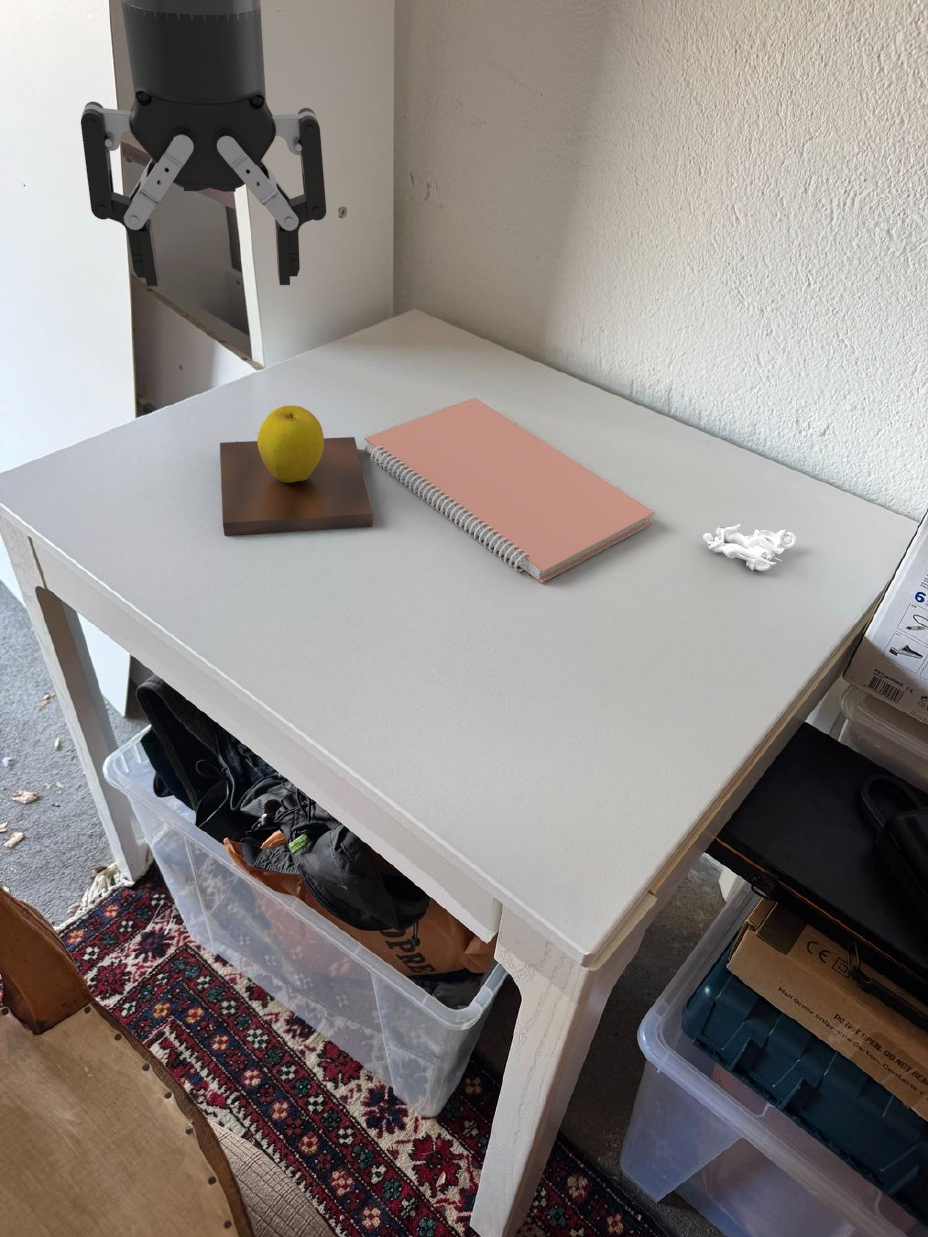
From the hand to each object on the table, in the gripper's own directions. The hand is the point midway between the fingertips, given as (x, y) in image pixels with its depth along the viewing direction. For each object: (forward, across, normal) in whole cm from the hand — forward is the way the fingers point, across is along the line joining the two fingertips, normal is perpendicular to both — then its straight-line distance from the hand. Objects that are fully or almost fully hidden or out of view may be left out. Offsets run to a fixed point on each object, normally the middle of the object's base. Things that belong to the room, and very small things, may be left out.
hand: (219, 281), depth 62 cm
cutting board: (+28, -5, -16) cm, 33 cm away
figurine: (+28, -48, -1) cm, 56 cm away
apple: (+27, -5, -16) cm, 32 cm away
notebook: (+28, -26, -14) cm, 41 cm away
